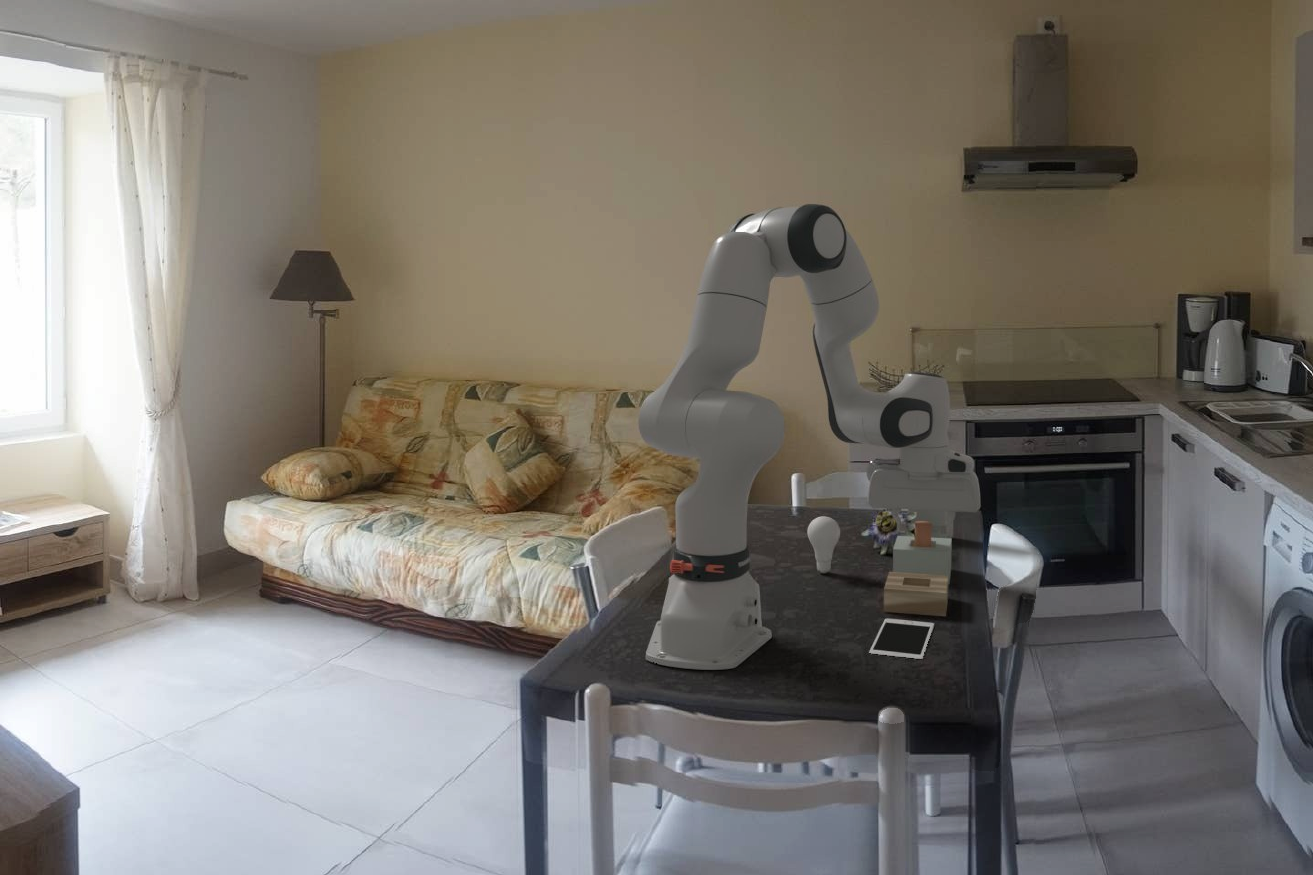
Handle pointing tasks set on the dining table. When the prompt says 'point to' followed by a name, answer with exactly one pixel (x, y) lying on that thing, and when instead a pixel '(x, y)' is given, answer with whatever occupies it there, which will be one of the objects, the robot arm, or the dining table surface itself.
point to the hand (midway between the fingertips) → (922, 532)
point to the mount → (916, 594)
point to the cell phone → (902, 638)
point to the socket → (922, 556)
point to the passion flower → (888, 529)
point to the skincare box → (933, 521)
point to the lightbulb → (823, 540)
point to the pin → (923, 534)
